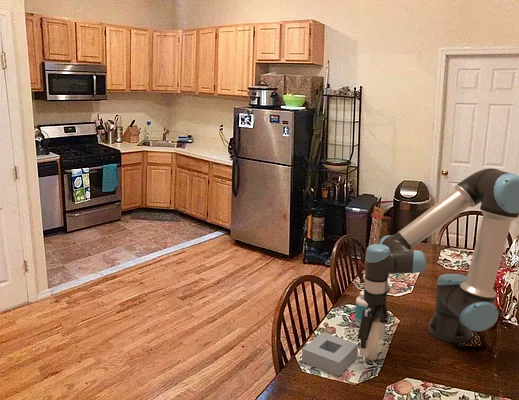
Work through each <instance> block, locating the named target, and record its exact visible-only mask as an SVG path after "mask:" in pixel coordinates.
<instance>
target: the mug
mask: <svg viewBox="0 0 519 400" xmlns="http://www.w3.org/2000/svg"><path fill="white" fill-rule="evenodd" d="M357 265H358V268H357V276H358V278H359V279H358V280H359V284H361V285H363V286H364V285H365V281H364V277H365V274H364V273H363V272H364V271H365V264H363V262H361V261H359V260H358V262H357ZM389 277H390V274H388V278H389ZM389 290H390V284H389V283H388V286H387V291H386V292H387V293H388V292H389Z"/></svg>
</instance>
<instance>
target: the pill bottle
mask: <svg viewBox="0 0 519 400" xmlns="http://www.w3.org/2000/svg"><path fill="white" fill-rule="evenodd" d="M367 306H368V304H367V303H366V302H365V301H364V290H361V291H360V292H359V296H357V297H356V299H355V313H354V314H355V315H354V317H355V318H354V323H355V325H356V327H359V328H360V324H361V320H362V314H363V309H365V310H366V309H367Z"/></svg>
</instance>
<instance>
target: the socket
mask: <svg viewBox="0 0 519 400" xmlns="http://www.w3.org/2000/svg"><path fill="white" fill-rule="evenodd" d="M358 350H359V344H358V343H356V342H353V341H350V340H348V339H344V338H341V337H338V336H335V335H332V334H331V333H326V332H324V331H323V332H321V333H320V334H318V335H317V336H316V337H315V338H314V339H312V340H311V341H310V342H309V343H308V344H307V345H305V346H304V347H303V348H302V349H301V362H302V363H303V364H307V365H309V366H312V367H313V368H317V369H319V370H322V371H324V372H326V373H329V374H332V375H335V376H336V377H340V376H341V374H343V373H344V371H346V369H347V368H348V367H349V366H350V365H351V364H353V362H354V361H355V360H356V359H357V358H358V355H359V354H358V353H359V351H358Z"/></svg>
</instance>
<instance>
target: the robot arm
mask: <svg viewBox="0 0 519 400" xmlns="http://www.w3.org/2000/svg"><path fill="white" fill-rule="evenodd" d="M478 204H480V207H479V211H480V212H481V213H482V215H483V216H482V219H481V223H480V227H479V230H478V235H477V239H476V242H475V246H474V250H473V253H472V257H471V261H470V265H469V268H468V272H467V275H465V274H459V273H444V274H441V275H439V277H438V279H437V282H436V297H435V306H434V313H433V315H432V317H431V318H430V321H429V322H428V323H429V324H428V332H429V333H430V335H431V336H433V337H435V338H436V339H438V340H441V341H444V342H446V343H447V342H448V343H452V344H455V343H456V344H457V342H462V343H465V342H464V341H466V342H468V341H470V340H469V339H471V338H472V332H484V331H486V330H488V329H490V328H492V327H494V325H495V324H496V322H497V321H498V318H499V310H498V308H497V306H496V305H495V301H496V297H497V293H496V291H495V290H494V287H495V283H496V278H497V277H498V276H497V275H498V273H499V272H498V271H499V270H500V269H499V268H500V266H501V261H502V258H503V253H504V251H505V246H506V243H507V239H508V235H509V231H510V229H511V226H512V225H511V224H512V222H513V221H514V220H516V219H518V218H519V175H517V174H515V173H513V172H512V173H511V172H508V171H507V172H506V171H503V170H500V169H497V168H493V167H492V168H484V169H480V170H478V171H476V172H474V173H472V174H470V175H469V176H467V177H465V178H464V179H463V180H461V181H460V182H459V183H457V184H456V185H455V186H454V190H453V191H451V192H450V193H449V194H447V195H446V196H445V197H444V198H442V199H440V200H439V201H437V203H436V204H434V205H432V206H431V207H429V209H427V210H426V211H424V212H423V213H422V214H421V215H419V216H418V217H417V218H415V219H414V220H413V221H411V222H410V223H408V224H407V225H406V226H404V227H403V228H402V229H401V230H399V231H397V232H396V233H395V234H393V235H389V234H388V235H384V236H383V237H382V238H381V239H380V240H379V243H375V244H374V243H373V244H370V245H369V246H366V247H367V248H366V251H365V258H364V260H365V264H364V265H365V270H364V277H363V279H364V281H365V282H364V283H365V285H363V287H364V288H363V289H364V290H363V291H364V301H365V302H366V303H367V304H368V306H367V309H366V310H365V309H363V314H362V320H361V324H360V327H359V329H358V334H357V340H360V345H359V356H361V357H364V358H366V357H368V353H369V339H368V337H369V334H370V331H371V327H372V324H373V321H375V320H376V316H379V317H380V328H379V341H381V342H383V341H385V328H386V327H385V326H386V324H388V322H389V320H388V318H389V316H388V315H389V314H388V313H389V312H388V309H387V308H388V307H387V299H388V298H387V297H388V292H386V291H387V286H388V284H389V281H388V280H389V277H388V274H389V275H391V274H392V275H393V274H395V275H396V274H399V275H400V274H413V275H414V274H419V273H423V272H424V270H425V269H426V263H427V260H426V256H425V253H424V252H423V251H422V250H416V249H413V248H414V247H416V246H417V245H419V244H420V243H422V242H423V241H424V240H425V239H427V238H428V237H430V236H431V235H432V234H434V233H435V232H436V231H438V230H439V229H441V228H442V227H443V226H445V225H446V224H448V223H449V222H450V221H451V220H453V219H454V218H456V217H457V216H458V215H460V214H461V213H463V212H464V211H465V210H467V209H468V208H474V207H476V206H477V205H478ZM372 317H373V318H372ZM467 340H468V341H467Z"/></svg>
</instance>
